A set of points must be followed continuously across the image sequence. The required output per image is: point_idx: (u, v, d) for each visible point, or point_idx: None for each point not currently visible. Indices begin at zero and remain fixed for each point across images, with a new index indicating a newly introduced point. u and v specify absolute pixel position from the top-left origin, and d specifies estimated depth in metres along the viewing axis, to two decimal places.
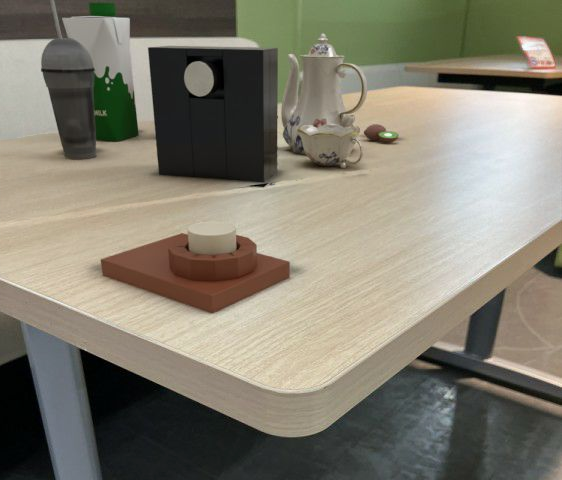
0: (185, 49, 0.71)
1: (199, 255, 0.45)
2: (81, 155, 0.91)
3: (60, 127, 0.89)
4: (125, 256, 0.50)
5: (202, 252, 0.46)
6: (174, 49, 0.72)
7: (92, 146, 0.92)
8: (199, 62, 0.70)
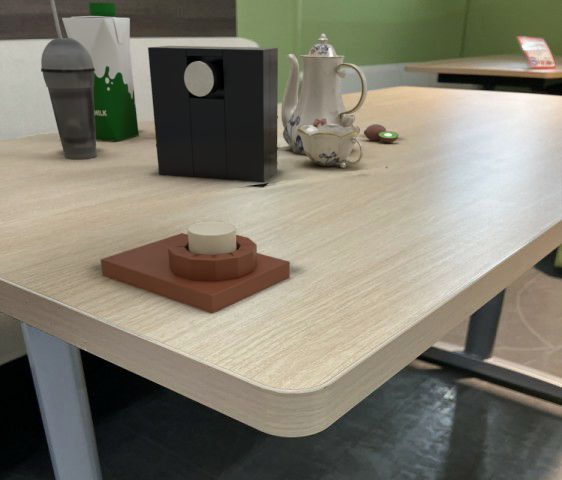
0: (185, 49, 0.71)
1: (199, 255, 0.45)
2: (81, 155, 0.91)
3: (60, 127, 0.89)
4: (125, 256, 0.50)
5: (202, 252, 0.46)
6: (174, 49, 0.72)
7: (92, 146, 0.92)
8: (199, 62, 0.70)
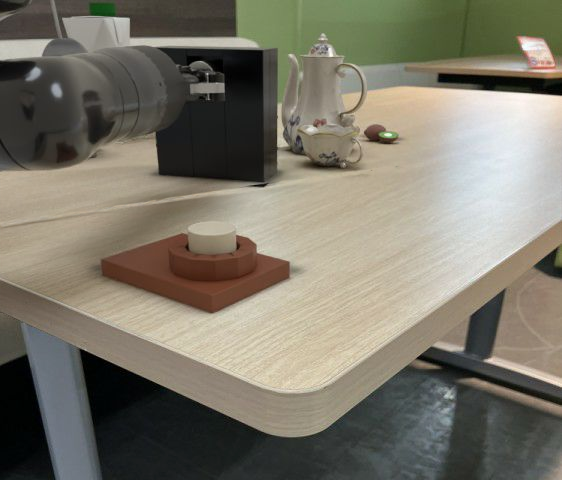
0: (185, 49, 0.71)
1: (199, 255, 0.45)
2: None
3: None
4: (125, 256, 0.50)
5: (202, 252, 0.46)
6: (174, 49, 0.72)
7: None
8: (200, 62, 0.70)
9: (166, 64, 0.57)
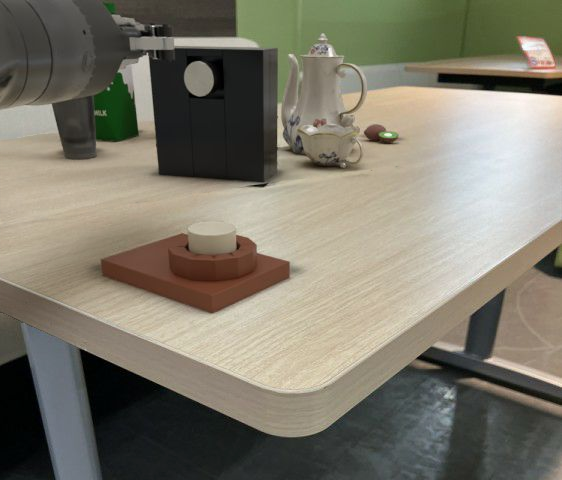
0: (185, 49, 0.71)
1: (199, 255, 0.45)
2: (81, 155, 0.91)
3: (60, 127, 0.89)
4: (125, 256, 0.50)
5: (202, 252, 0.46)
6: (174, 49, 0.72)
7: (92, 146, 0.92)
8: (199, 62, 0.70)
9: (95, 9, 0.45)
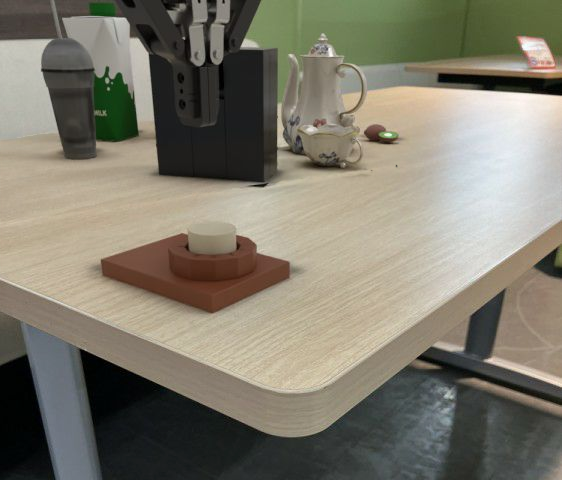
0: None
1: (199, 255, 0.45)
2: (81, 155, 0.91)
3: (60, 127, 0.89)
4: (125, 256, 0.50)
5: (202, 252, 0.46)
6: None
7: (92, 146, 0.92)
8: None
9: None
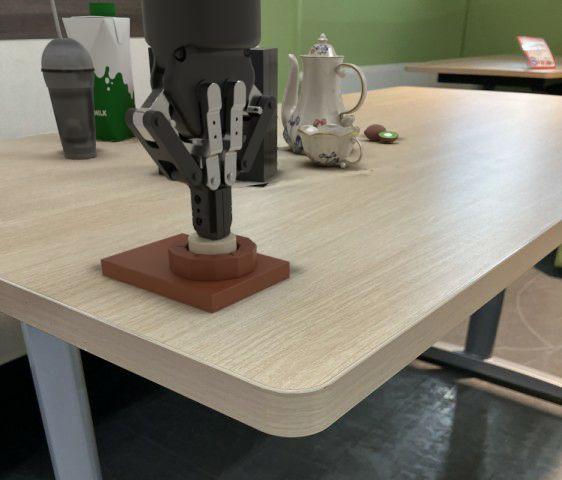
0: None
1: (199, 255, 0.45)
2: (81, 155, 0.91)
3: (60, 127, 0.89)
4: (125, 256, 0.50)
5: None
6: None
7: (92, 146, 0.92)
8: None
9: None
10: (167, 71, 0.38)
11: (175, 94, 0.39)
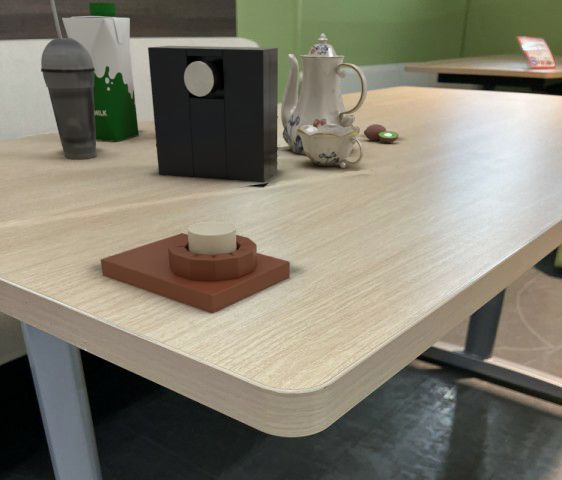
0: (185, 49, 0.71)
1: (199, 255, 0.45)
2: (81, 155, 0.91)
3: (60, 127, 0.89)
4: (125, 256, 0.50)
5: (202, 252, 0.46)
6: (174, 49, 0.72)
7: (92, 146, 0.92)
8: (199, 62, 0.70)
9: None
10: None
11: None
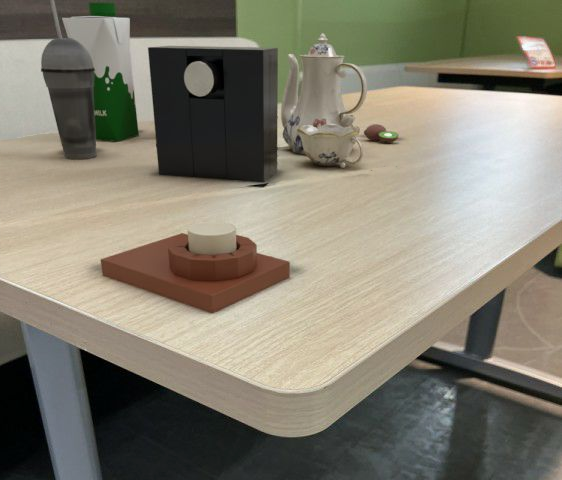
0: (185, 49, 0.71)
1: (199, 255, 0.45)
2: (81, 155, 0.91)
3: (60, 127, 0.89)
4: (125, 256, 0.50)
5: (202, 252, 0.46)
6: (174, 49, 0.72)
7: (92, 146, 0.92)
8: (199, 62, 0.70)
9: None
10: None
11: None
